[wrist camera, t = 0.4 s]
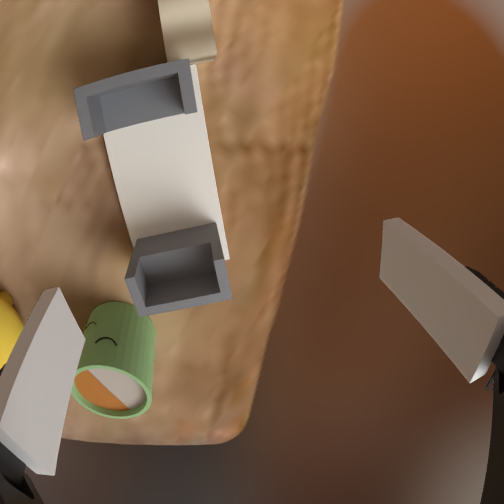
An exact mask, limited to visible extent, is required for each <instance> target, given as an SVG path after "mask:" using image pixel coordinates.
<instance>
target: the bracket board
mask: <svg viewBox="0 0 504 504" xmlns="http://www.w3.org/2000/svg"><path fill="white" fill-rule="evenodd" d="M74 95H75V101H76V106H77V112H78V117H79V122H80V127H81V131H82V136H83V141H85V140H88V139H91V138H94V137H97V136H99V135H101V134H103V135H104V140H105V144H106V149H107V153H108V157H109V162H110V166H111V170H112V174H113V178H114V182H115V186H116V189H117V193H118V197H119V201H120V204H121V208H122V211H123V215H124V218H125V222H126V225H127V229H128V232H129V235H130V239H131V242H132V245H133V248H134V250H133V253H132V256H131V260H130V263H129V266H128V269H127V273H126V276H125V282H126V284H127V287H128V290H129V292H130V295H131V297H132V300H133V303H134V305H135V308H136V310H137V313H138V315H139V317H142V316H148V315H153V314H158V313H164V312H169V311H174V310H180V309H185V308H190V307H195V306H200V305H205V304H210V303H215V302H220V301H224V300H229V299H232V294H231V289H230V284H229V279H228V274H227V269H226V264H225V260H227V259H230V258H229V253H228V247H227V242H226V237H225V231H224V226H223V221H222V215H221V210H220V204H219V199H218V193H217V187H216V182H215V176H214V170H213V165H212V159H211V153H210V147H209V141H208V135H207V129H206V123H205V117H204V111H203V105H202V99H201V93H200V87H199V80H198V74H197V68H196V64H193V65H190V62H189V58H188V59H183V60H177V61H172V62H168V63H163V64H158V65H154V66H150V67H146V68H142V69H138V70H134V71H130V72H126V73H123V74H119V75H116V76H112V77H109V78H106V79H102V80H99V81H96V82H93V83H90V84H87V85H84V86H81V87H78V88H75V89H74Z"/></svg>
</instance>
